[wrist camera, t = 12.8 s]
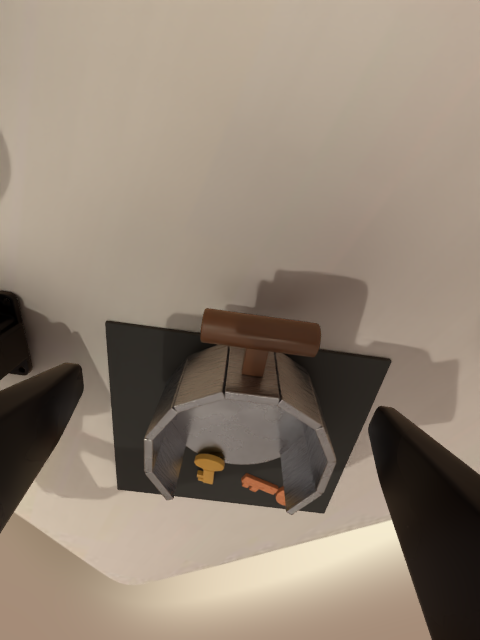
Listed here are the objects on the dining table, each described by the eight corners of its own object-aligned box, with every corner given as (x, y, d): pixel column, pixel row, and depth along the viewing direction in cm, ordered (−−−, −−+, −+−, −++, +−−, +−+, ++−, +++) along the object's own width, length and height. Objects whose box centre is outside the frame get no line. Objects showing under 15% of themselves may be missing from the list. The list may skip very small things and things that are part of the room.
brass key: (195, 450, 23) (193, 456, 23) (225, 457, 23) (224, 463, 22) (195, 476, 27) (194, 481, 27) (221, 481, 27) (220, 487, 27)
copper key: (306, 491, 28) (307, 495, 27) (291, 504, 28) (292, 509, 28) (250, 467, 26) (250, 472, 26) (237, 482, 27) (236, 487, 27)
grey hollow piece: (164, 449, 24) (144, 512, 20) (169, 282, 18) (142, 320, 13) (297, 465, 25) (307, 531, 20) (350, 308, 18) (383, 353, 14)
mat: (118, 486, 29) (111, 504, 27) (107, 320, 21) (95, 332, 19) (323, 510, 29) (327, 529, 28) (390, 358, 21) (400, 373, 20)
